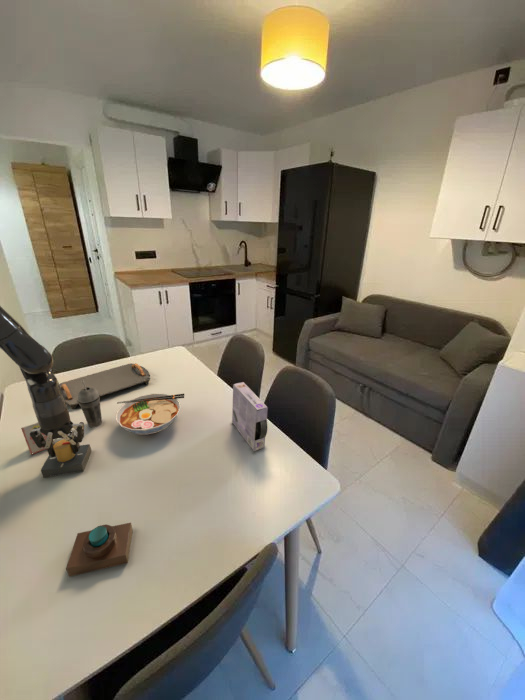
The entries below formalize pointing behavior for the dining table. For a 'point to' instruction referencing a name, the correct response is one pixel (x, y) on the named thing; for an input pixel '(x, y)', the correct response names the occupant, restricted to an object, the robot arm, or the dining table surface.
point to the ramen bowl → (148, 413)
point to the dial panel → (67, 463)
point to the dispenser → (100, 550)
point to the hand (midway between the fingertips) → (65, 453)
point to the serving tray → (105, 382)
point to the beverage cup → (90, 405)
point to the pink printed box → (30, 442)
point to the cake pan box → (249, 416)
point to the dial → (63, 450)
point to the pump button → (98, 536)
